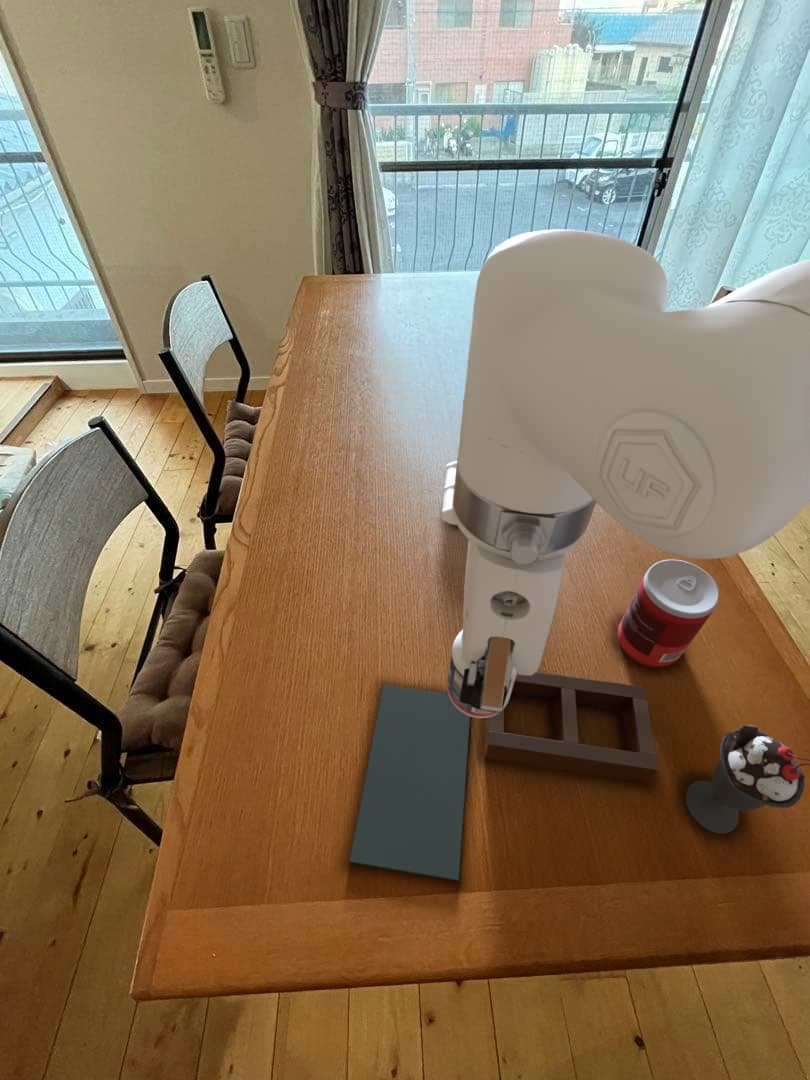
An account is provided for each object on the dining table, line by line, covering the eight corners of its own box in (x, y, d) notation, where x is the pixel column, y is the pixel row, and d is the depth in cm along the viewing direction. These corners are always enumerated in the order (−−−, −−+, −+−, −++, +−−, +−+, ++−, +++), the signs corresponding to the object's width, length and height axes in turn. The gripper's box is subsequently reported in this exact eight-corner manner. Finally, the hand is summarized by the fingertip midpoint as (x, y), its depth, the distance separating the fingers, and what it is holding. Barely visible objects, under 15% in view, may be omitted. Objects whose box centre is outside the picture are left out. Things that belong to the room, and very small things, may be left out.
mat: (458, 881, 50) (458, 880, 50) (349, 862, 51) (349, 861, 50) (471, 699, 62) (471, 697, 62) (383, 686, 63) (383, 684, 63)
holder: (646, 783, 56) (658, 770, 54) (484, 758, 58) (488, 744, 55) (634, 702, 62) (644, 686, 60) (487, 681, 64) (491, 665, 61)
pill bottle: (467, 651, 49) (479, 590, 42) (520, 683, 47) (541, 624, 40) (434, 696, 46) (440, 638, 39) (489, 732, 44) (506, 678, 37)
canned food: (688, 634, 69) (728, 577, 61) (670, 682, 64) (710, 627, 56) (628, 605, 72) (658, 548, 64) (606, 649, 67) (635, 593, 59)
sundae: (751, 854, 52) (847, 798, 41) (676, 828, 53) (749, 768, 42) (746, 785, 56) (831, 718, 45) (676, 763, 58) (743, 693, 47)
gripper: (609, 632, 24) (531, 786, 37) (583, 411, 35) (532, 588, 49) (435, 608, 25) (420, 768, 38) (467, 399, 36) (447, 577, 49)
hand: (483, 665), depth 43 cm, fingers closed on pill bottle, 5 cm apart
